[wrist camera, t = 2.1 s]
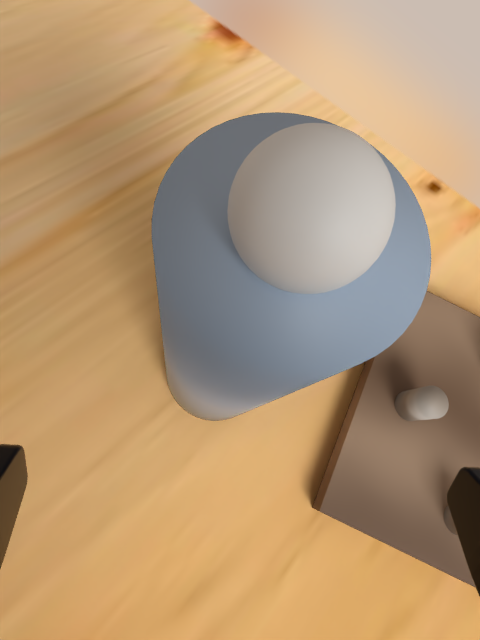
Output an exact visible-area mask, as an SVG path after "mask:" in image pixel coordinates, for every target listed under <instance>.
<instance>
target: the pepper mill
mask: <svg viewBox="0 0 480 640" xmlns="http://www.w3.org/2000/svg"><path fill="white" fill-rule="evenodd" d="M152 244H153V254H154V263H155V272H156V282H157V291H158V300H159V310H160V319H161V328H162V338H163V347H164V356H165V366H166V375H167V382H168V386H169V389H170V391H171V394H172V395H173V397H174V399H175V400H176V402H177V403H178V404H179V405H180V406H181V407H182V408H183V409H184V410H185V411H187V412H188V413H190V414H192V415H193V416H195V417H198V418H201V419H205V420H211V421H220V420H226V419H230V418H233V417H235V416H238V415H240V414H242V413H245V412H247V411H249V410H252V409H254V408H257V407H259V406H261V405H264V404H266V403H269V402H271V401H273V400H276V399H278V398H280V397H283V396H285V395H288V394H290V393H292V392H295V391H297V390H300V389H302V388H304V387H307V386H309V385H311V384H314V383H316V382H319V381H321V380H323V379H326V378H328V377H331V376H333V375H335V374H338V373H340V372H342V371H345V370H347V369H350V368H352V367H354V366H357V365H359V364H361V363H363V362H365V361H367V360H369V359H371V358H373V357H375V356H377V355H378V354H379V353H381V352H382V351H384V350H385V349H387V348H388V347H390V346H391V345H392V344H393V343H394V342H395V341H396V340H397V339H398V338H399V337H400V336H401V335H402V334H403V333H404V332H405V330H406V329H407V328H408V326H409V325H410V324H411V323H412V321H413V319H414V318H415V316H416V314H417V312H418V310H419V309H420V307H421V304H422V302H423V299H424V296H425V294H426V291H427V287H428V282H429V277H430V268H431V248H430V239H429V234H428V229H427V225H426V222H425V219H424V215H423V212H422V210H421V208H420V205H419V203H418V201H417V199H416V197H415V195H414V193H413V192H412V190H411V188H410V187H409V185H408V183H407V182H406V180H405V179H404V178H403V177H402V175H401V174H400V173H399V171H398V170H397V169H396V168H395V167H394V166H393V165H392V163H391V162H390V161H389V160H388V159H387V158H386V157H385V156H384V155H382V154H381V153H380V152H379V151H378V150H377V149H375V148H374V147H373V146H372V145H370V144H369V143H368V142H367V141H365V140H364V139H363V138H361V137H360V136H358V135H357V134H355V133H353V132H352V131H350V130H347V129H345V128H342V127H339V126H337V125H335V124H332V123H330V122H327V121H324V120H321V119H317V118H314V117H310V116H304V115H299V114H292V113H259V114H253V115H247V116H243V117H239V118H236V119H232V120H229V121H227V122H224V123H222V124H220V125H217V126H215V127H213V128H211V129H210V130H208V131H206V132H205V133H203V134H201V135H200V136H199V137H197V138H196V139H195V140H194V141H192V142H191V143H190V144H189V145H188V146H186V148H185V149H184V150H183V151H182V152H181V153H180V154H179V155H178V156H177V157H176V159H175V160H174V161H173V163H172V164H171V166H170V167H169V169H168V170H167V172H166V174H165V176H164V178H163V180H162V182H161V184H160V186H159V189H158V193H157V196H156V199H155V202H154V209H153V215H152Z"/></svg>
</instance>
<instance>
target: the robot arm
mask: <svg viewBox="0 0 480 640" xmlns="http://www.w3.org/2000/svg"><path fill="white" fill-rule="evenodd" d="M27 477H28V475H27V467H26V460H25V453H24V449H23V447H22V446H20V445H9V444H1V445H0V569H1V566H2V563H3V560H4V557H5V553H6V550H7V547H8V544H9V540H10V537H11V534H12V531H13V528H14V524H15V521H16V518H17V515H18V511H19V508H20V505H21V502H22V499H23V495H24V492H25V489H26V485H27ZM447 503H448V507H449V510H450V513H451V516H452V519H453V522H454V525H455V528H456V531H457V534H458V538H459V541H460V544H461V547H462V550H463V553H464V556H465V559H466V562H467V565H468V568H469V571H470V574H471V576H472V579H473V581H474V584H475V586H476V589H477V591H478V594H479V596H480V468H479V467H463V468H461V469H460V470H459V471H458V473H457V475H456V477H455V479H454V480H453V482H452V484H451V486H450V488H449V489H448V492H447Z"/></svg>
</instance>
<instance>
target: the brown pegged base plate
mask: <svg viewBox="0 0 480 640" xmlns="http://www.w3.org/2000/svg"><path fill="white" fill-rule="evenodd" d="M463 467H479V468H480V317H478V316H476V315H474V314H472V313H470V312H468V311H466V310H464V309H462V308H460V307H458V306H456V305H454V304H452V303H450V302H448V301H446V300H444V299H442V298H440V297H438V296H436V295H434V294H432V293H430V292H428V291H426V294H425V296H424V299H423V302H422V304H421V307H420V309H419V310H418V312H417V314H416V316H415V318H414V319H413V321H412V323H411V324H410V325H409V326H408V328H407V329H406V330H405V332H404V333H403V334H402V335H401V336H400V337H399V338H398V339H397V340H396V341H395V342H394V343H393V344H392V345H391V346H390V347H388V348H387V349H385V350H384V351H382V352H381V353H379V354H378V355H377V356H375V357H373V358H371V359H369V360H367V361H366V362H365V365H364V368H363V371H362V373H361V376H360V379H359V381H358V384H357V387H356V390H355V392H354V395H353V398H352V401H351V403H350V406H349V409H348V411H347V414H346V417H345V420H344V422H343V425H342V428H341V431H340V433H339V436H338V439H337V441H336V444H335V447H334V450H333V452H332V455H331V458H330V460H329V463H328V466H327V469H326V471H325V474H324V477H323V480H322V482H321V485H320V488H319V490H318V493H317V496H316V499H315V501H314V504H313V507H312V508H314V509H316V510H318V511H320V512H322V513H324V514H326V515H328V516H330V517H332V518H334V519H336V520H339V521H341V522H343V523H345V524H347V525H349V526H351V527H353V528H355V529H357V530H359V531H361V532H363V533H365V534H367V535H369V536H371V537H373V538H375V539H377V540H379V541H382V542H384V543H386V544H388V545H390V546H392V547H394V548H396V549H398V550H400V551H402V552H404V553H406V554H408V555H410V556H412V557H414V558H416V559H418V560H420V561H422V562H425V563H427V564H429V565H431V566H433V567H435V568H437V569H439V570H441V571H443V572H445V573H447V574H449V575H451V576H453V577H455V578H457V579H459V580H461V581H463V582H466V583H468V584H470V585H472V586H474V587H476V586H475V584H474V581H473V579H472V576H471V574H470V571H469V568H468V565H467V562H466V559H465V556H464V553H463V550H462V547H461V544H460V541H459V538H458V534H457V531H456V528H455V525H454V522H453V519H452V516H451V513H450V510H449V507H448V503H447V492H448V489H449V488H450V486H451V484H452V482H453V480H454V479H455V477H456V475H457V473H458V471H459V470H460V469H461V468H463Z"/></svg>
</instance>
